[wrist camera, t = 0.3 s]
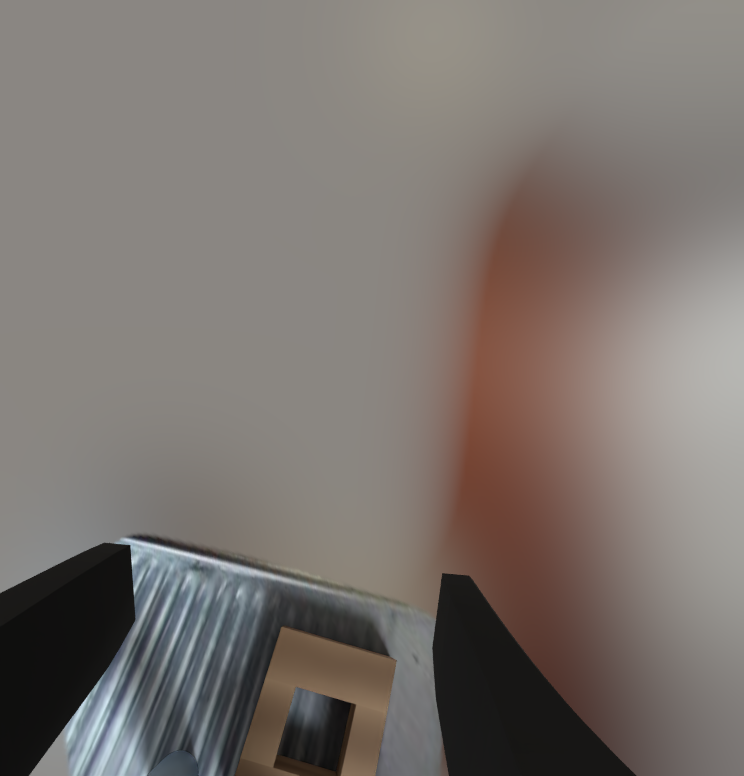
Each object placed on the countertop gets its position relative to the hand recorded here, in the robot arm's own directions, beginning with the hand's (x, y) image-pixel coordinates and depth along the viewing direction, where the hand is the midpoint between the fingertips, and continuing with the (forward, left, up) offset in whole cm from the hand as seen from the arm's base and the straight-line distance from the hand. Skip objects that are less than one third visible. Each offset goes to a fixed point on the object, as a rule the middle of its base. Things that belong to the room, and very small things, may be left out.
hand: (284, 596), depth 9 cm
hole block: (-7, -3, -29) cm, 30 cm away
